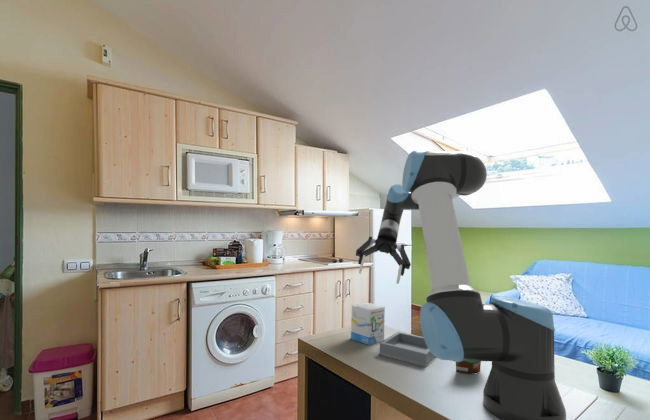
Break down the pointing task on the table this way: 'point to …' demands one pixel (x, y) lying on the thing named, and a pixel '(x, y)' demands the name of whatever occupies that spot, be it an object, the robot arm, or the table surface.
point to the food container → (468, 367)
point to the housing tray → (406, 348)
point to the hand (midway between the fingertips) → (378, 276)
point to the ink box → (367, 323)
